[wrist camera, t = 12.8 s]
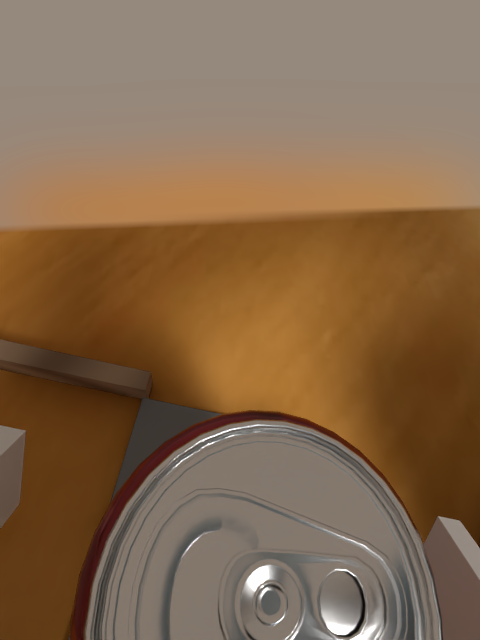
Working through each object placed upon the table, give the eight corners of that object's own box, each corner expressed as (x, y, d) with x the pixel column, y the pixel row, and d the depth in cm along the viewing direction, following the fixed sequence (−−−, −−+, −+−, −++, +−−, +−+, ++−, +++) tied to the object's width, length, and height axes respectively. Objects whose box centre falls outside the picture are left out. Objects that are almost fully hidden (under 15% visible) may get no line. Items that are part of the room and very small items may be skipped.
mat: (314, 435, 20) (316, 434, 20) (296, 729, 15) (299, 734, 14) (143, 399, 20) (142, 397, 19) (53, 692, 14) (50, 697, 14)
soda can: (112, 635, 15) (-31, 948, 4) (152, 452, 18) (126, 379, 8) (281, 650, 15) (509, 950, 5) (288, 471, 19) (432, 428, 8)
